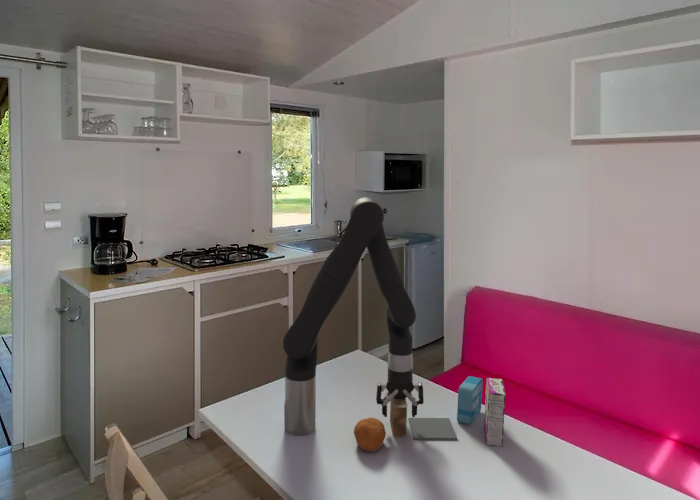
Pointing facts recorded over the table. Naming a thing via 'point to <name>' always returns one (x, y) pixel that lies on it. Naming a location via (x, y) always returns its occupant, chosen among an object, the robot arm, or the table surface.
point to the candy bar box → (494, 412)
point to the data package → (469, 400)
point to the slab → (398, 416)
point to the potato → (369, 434)
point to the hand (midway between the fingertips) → (399, 415)
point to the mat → (432, 429)
